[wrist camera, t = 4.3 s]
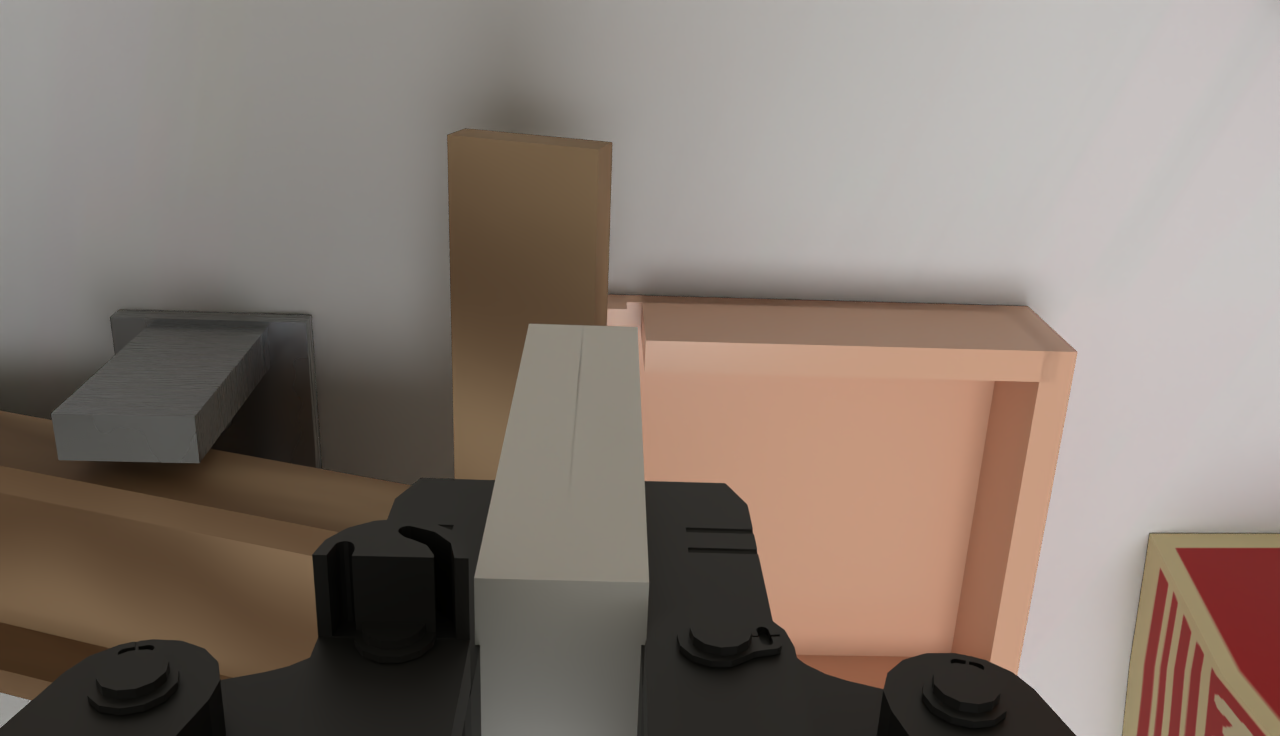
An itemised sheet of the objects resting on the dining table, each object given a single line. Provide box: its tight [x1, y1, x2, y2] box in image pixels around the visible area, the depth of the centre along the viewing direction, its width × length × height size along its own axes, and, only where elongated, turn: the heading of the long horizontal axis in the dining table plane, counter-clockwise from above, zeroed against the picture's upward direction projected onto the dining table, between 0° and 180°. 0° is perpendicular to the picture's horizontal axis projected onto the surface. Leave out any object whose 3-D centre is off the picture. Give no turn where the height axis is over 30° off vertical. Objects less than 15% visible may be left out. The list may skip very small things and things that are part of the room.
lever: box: [0, 128, 612, 700], centre depth 27 cm, size 15×24×3 cm, turn 88°
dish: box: [607, 294, 1077, 689], centre depth 32 cm, size 12×12×4 cm
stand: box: [51, 310, 322, 469], centre depth 30 cm, size 10×5×6 cm, turn 178°
